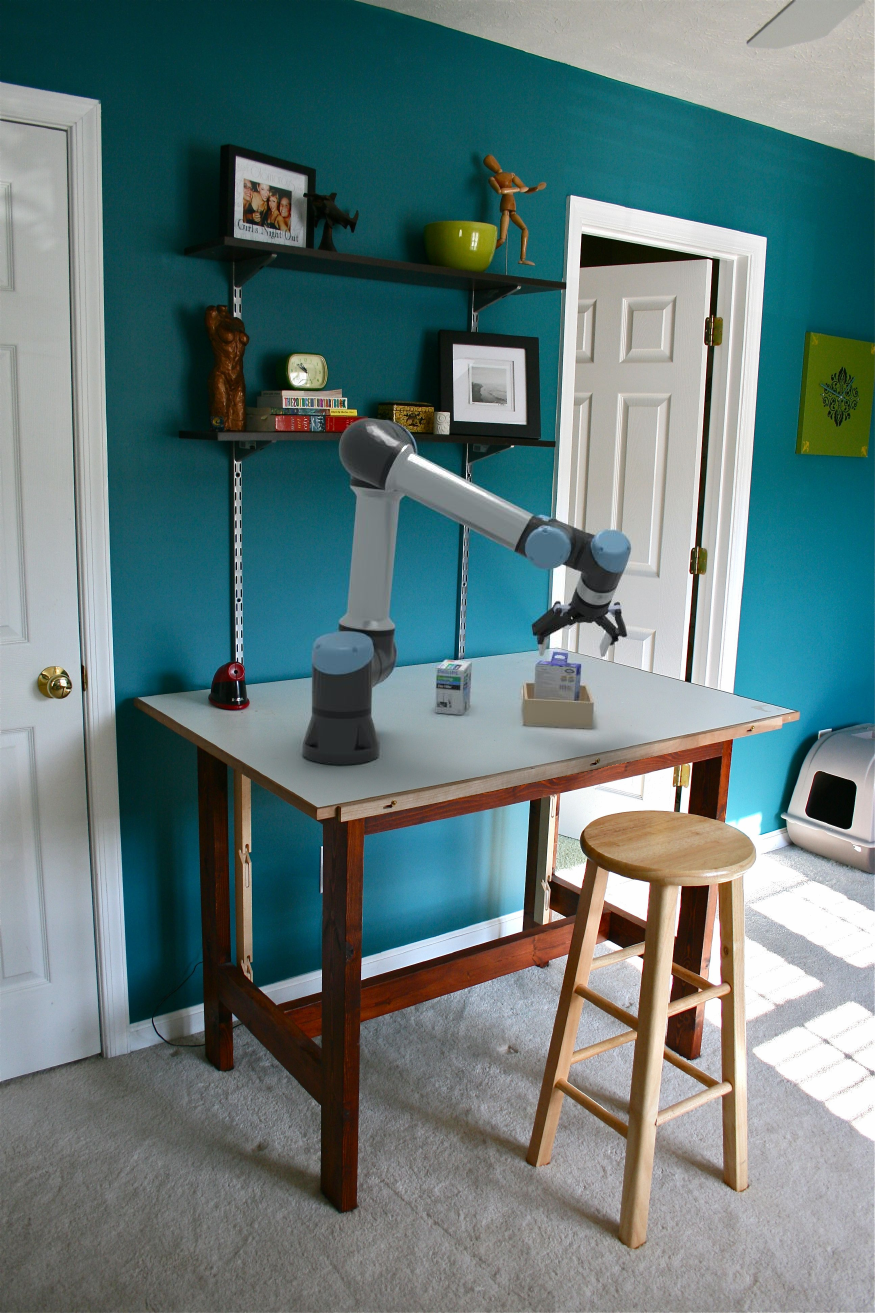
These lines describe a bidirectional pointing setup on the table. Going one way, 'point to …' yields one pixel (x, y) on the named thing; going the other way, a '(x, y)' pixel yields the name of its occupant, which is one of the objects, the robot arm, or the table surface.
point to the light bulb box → (453, 687)
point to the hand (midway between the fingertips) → (571, 651)
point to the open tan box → (557, 710)
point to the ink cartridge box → (557, 679)
